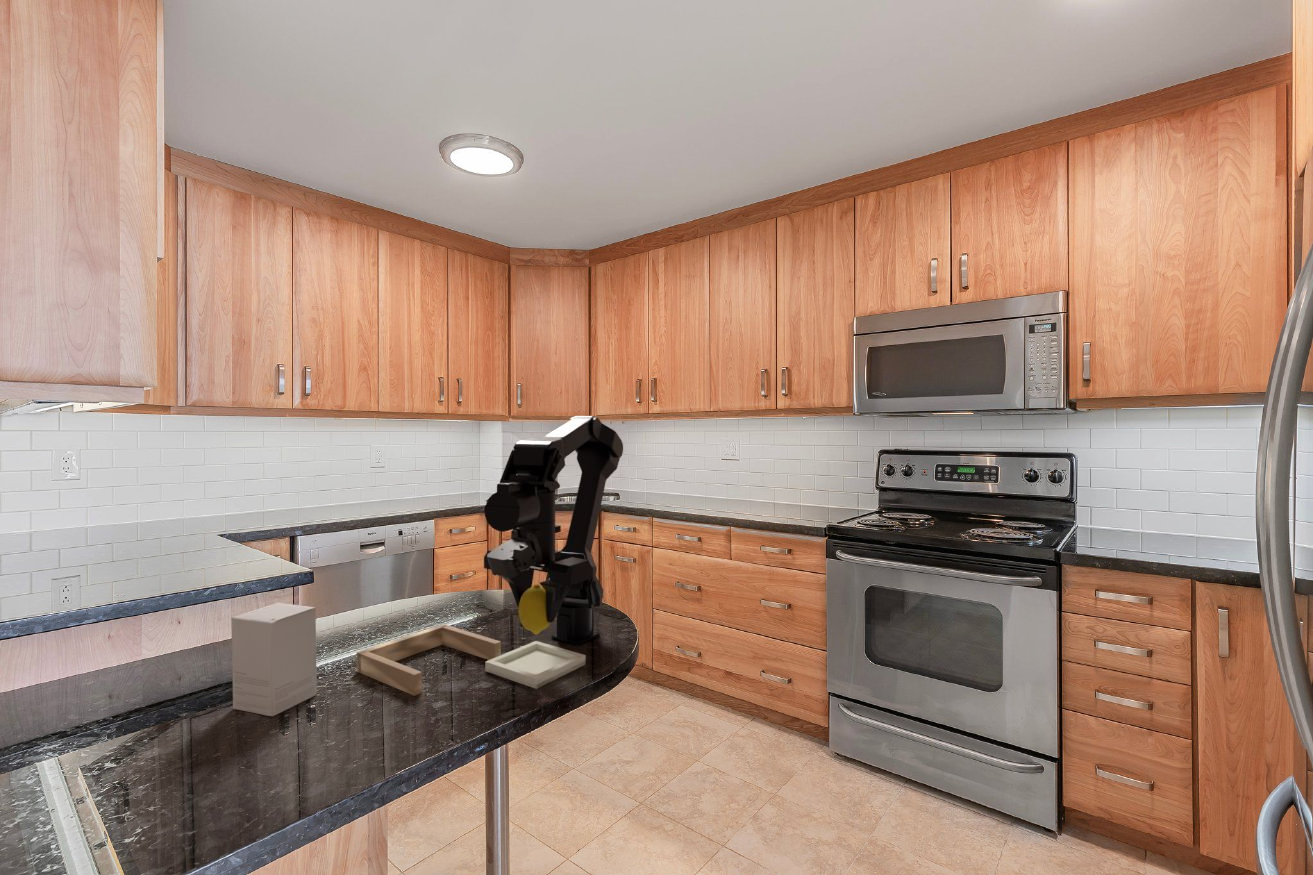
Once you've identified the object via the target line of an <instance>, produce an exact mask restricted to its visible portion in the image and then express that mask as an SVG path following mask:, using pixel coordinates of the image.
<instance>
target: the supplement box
mask: <svg viewBox="0 0 1313 875" xmlns="http://www.w3.org/2000/svg"><path fill="white" fill-rule="evenodd" d="M316 610H317V609H316V607H315V606H308V605H298V604H290V603H283V602H276V603H272V604H269V605H267V606H262V607H260V608H259V607H258V608H257V609H254V610H251V611H247V612H244V613H241V614H239V615H235V616H233V617H231V618H230V620H231V657H232V659H231V663H232V666H231V668H232V669H231V670H232V671H231V672H232V708H233V710H238V711H243V712H246V713H247V712H248V713H253V714H258V715H263V716H267V717H274V716H276V715H279V714H281V713H283V712H284V711H287V710H289V709H291V708H293V707H295V706H298V705H299V704H301V703H303V702H305V701H307V700H309V699H311V698H312V697H315V696H316V695H317V693H318V688H317V686H318V682H317V680H318V678H317V675H318V674H317V629H316V628H317V627H316V626H317V625H316V622H317V619H316V618H317V616H316V615H317V614H316V613H317V612H316Z"/></svg>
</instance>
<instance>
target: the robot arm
mask: <svg viewBox="0 0 1313 875" xmlns="http://www.w3.org/2000/svg"><path fill="white" fill-rule="evenodd" d="M573 452H576V460H577V463H578V466H579V469H580V471H581V475H580V479H579V483H578V488H577V492H576V497H575V502H574V505H573V510H572V514H571V519H570V524H569V527H568V528H569V529H568V532H567V537H566V542H565V544H564V546H563V548H561V549H560V550H557V549H556V534H557V533H561V531H562V530H561V527H562V526H561V525H559V524H556V490H559V489H560V488H561V484H560V483H559V481H557V480H556V479H557V478H558V476H559V474H560V473H561V471H562V470H563V469H564V468H565V466H566V458H567V457H568V456H569V455H571V454H572V453H573ZM623 453H624V442H623V440H622V439H621V437H620V436H619V434H618V433H617V431H615V430H614V429H612V428H611V427H610V426H607V425H606V424H604V423H603V422H602V421H601V419H599V418H598V417H596V416H594V415H575V416H572V417H570V419H569V420H568V421H567V422H566V423H564V424H562V425H560V426H559V427H558V428H555V429H554V430H553V431H551V432H549V433H548V434H545V435H544V436H539V437H531V438H525V439H521V440H518V441H516V443H515V444H514V445H513V448H511V452H510V453H509V456H508V460H507V461H506V464H505V467H504V470H503V472H502V474H501V478H500V479H499V483H497V484H496V492H494V493H492V494H491V496H489V498H488V499H487V501H486V504H485V506H484V510H483V512H484V518H485V520H486V522H487V524H488V525H489V526H490V527H491V528H492V529H494V530H495V531H497V532H502V533H503V532H508V531H511V532H510V533H511V534H510V536H511V537H510V539H508V540H507V541H504V542H503V543H501V544H500V545H499V546H497V547H496V548H493V549H488V550H487V551H486V552H485V555H483V569H485V570H490V571H491V574H492V575H493V576H497V577H500V578H502V579H503V580H504V581H506V583H508V585H509V588H510V590H511V593H512V595H513V597H514V601H515V604H516V606H517V609H518V611H519V603H520V600H521V597H522V595H523V593H524V592H525V591H526V590H527V589H529V588H531V587H533V580H534V573H535V571H537V572H542V573H546V576H545V580H544V581H540V582H539V586H541V587H543V588H544V589H545V591H546V615H547V622H549V623H550V624H551V623H553V622H554V621H555V620H556V632H555V633H552V634H550V638H551V639H555V640H558V641H561V642H566V643H569V644H572V645H582V644H583V643H585V642H587V641H588V642H589V640H592V639H594V638H596V637H598V636H601V632H600V631H598V630H595V629H594V612H595V611H594V608H596V607H601V606H602V603H603V598H604V588H603V587H602V585H601V583H600V581H599V579H598V577H597V571H598V568H597V565H596V562H595V559H594V556H593V554H592V551H593V544H594V541H595V535H596V532H597V526H598V521H599V516H600V512H601V508H602V502H603V496H604V492H605V487H606V484H607V480H608V479H609V477H611V476H612V474H614V473H615V471H617V469H618V466H619V462H620V459H621V457H622V456H623Z"/></svg>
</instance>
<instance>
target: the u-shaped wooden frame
mask: <svg viewBox="0 0 1313 875" xmlns="http://www.w3.org/2000/svg"><path fill="white" fill-rule="evenodd" d="M441 645H443V646H445V647H449V648H452V649H455V650H458V651H460V652H464V653H466V654H470V655H473V656H476V657H479V658H482V659H485V660H487V661H488V660H491V659H493V658H495V657H498V656H500V655H502V649H501V648H502V642H501V641H500V640H497V639H493V638H490V637H487V636H484V635H481V634H477V633H475V632H474V633H473V632H470V631H467V630H465V629H460V628H458V627H454V626H452V625H451V626H450V625H448V624H444V623H442V624H440V625H436V626H433V627H430V628H426V629H425V630H421V631H418V632H415V633H411V634H409V635H406V636H403V637H400V638H396V639H393V640H390V641H387V642H385V643H381V644H378V645H374V646H371V647H369V648H365V649H363V650H359V651H356V672H357V673H360V674H362V675H364V676H367V677H369V678H372V679H374V680H376V681H378V682H381V683H383V684H386V685H388V686H390V687H392V688H394V689H397V690H399V691H403V692H405V693H407V694H409V695H410V696H411V695H412V696H413V697H414V696H418V695H420V694H422V693H423V692H422V691H423V676H422V675H423V672H422V671H420V670H418V669H414V668H412V667H410V666H408V665H404V664H402V663H399V662H397V661H400V660H403V659H405V658H407V657H411V656H413V655H417V654H419V653H422V652H425V651H427V650H431V649H433V648H434V649H435V648H436V647H439V646H441Z"/></svg>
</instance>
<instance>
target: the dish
mask: <svg viewBox="0 0 1313 875" xmlns="http://www.w3.org/2000/svg"><path fill="white" fill-rule="evenodd" d="M585 665H586V655H585V654H582V653H579V652H576V651H572V650H569V649H565V648H561V647H558V646H556V645H552V644H548V643H545V642H541V641H538V640H535V641H532V642H530V643H527V644H526V645H523V646H519V647H517V648H515V649H513V650H511V651H508V652H506V653H503V654H501V655H500V656H498V657H495V658H493V659H491V660H487V661H485V664H484V666H485V672H487V673H490V674H493V675H496V676H499V677H501V678H504V679H507V680H510V681H512V682H516V683H519V684H521V685H523V686H527V687H530V688H532V689H535V690H537V689H539V688H542V687H543V686H545V685H547V684H549V683H551V682H554V681H556V680H557V679H560V678H562V677H563V676H565V675H567V674H570V673H572V672H573V671H575V670H577V669H579V668H581V667H583V666H585Z"/></svg>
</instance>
